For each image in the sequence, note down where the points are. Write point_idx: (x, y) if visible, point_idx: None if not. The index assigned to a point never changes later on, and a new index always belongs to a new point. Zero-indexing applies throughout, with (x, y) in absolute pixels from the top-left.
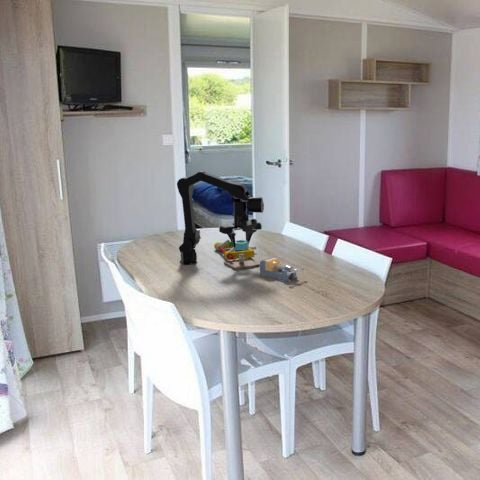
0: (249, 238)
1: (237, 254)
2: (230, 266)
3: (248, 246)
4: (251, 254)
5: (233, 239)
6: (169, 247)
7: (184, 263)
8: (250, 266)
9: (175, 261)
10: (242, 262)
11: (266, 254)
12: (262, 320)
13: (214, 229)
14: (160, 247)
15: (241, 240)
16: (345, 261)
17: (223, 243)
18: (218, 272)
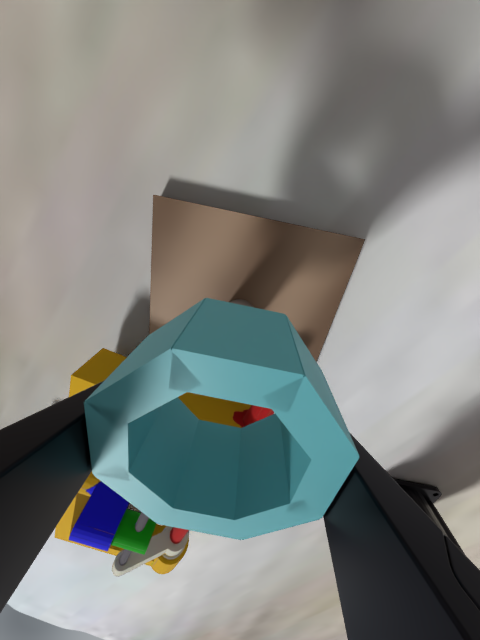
0: (8, 451)
1: (201, 408)
2: (328, 321)
3: (143, 342)
4: (110, 366)
5: (473, 582)
6: (283, 609)
7: (433, 498)
8: (237, 212)
9: None
10: (244, 302)
11: (6, 369)
12: None
13: (68, 623)
14: (302, 620)
15: (162, 497)
16: None
17: (152, 554)
18: (464, 290)
